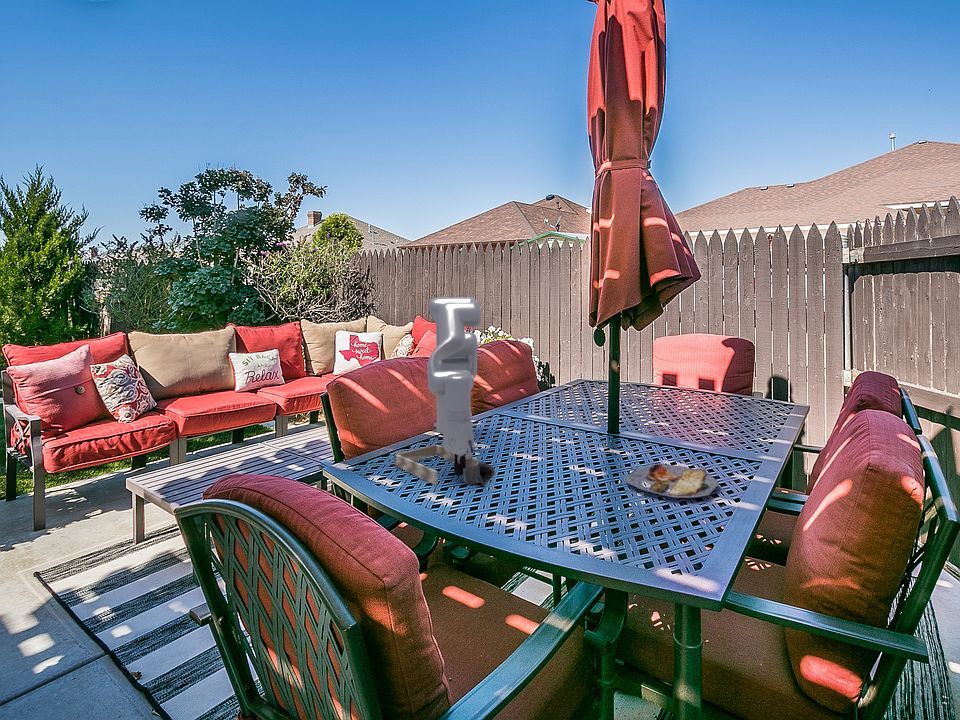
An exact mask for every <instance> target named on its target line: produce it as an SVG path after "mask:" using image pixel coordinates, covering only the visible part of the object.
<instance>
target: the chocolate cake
mask: <svg viewBox="0 0 960 720" xmlns="http://www.w3.org/2000/svg"><path fill="white" fill-rule="evenodd" d="M478 463H479V464H478V465H477V466H471V467H467V468H464V470H463V471H464V473H463V475H462V476H463V481H464V484H465V486H467V485H472V484H481V485H482V486H484V487H486V486H487V484H488V483H489V482H490V480H492V478H494V477H495V476H496V472H495V471H496V470H495V467H494V466H493V465H490V464H488V463H485V462H483V461H480V460H479V461H478Z"/></svg>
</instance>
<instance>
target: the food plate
mask: <svg viewBox="0 0 960 720" xmlns="http://www.w3.org/2000/svg"><path fill="white" fill-rule="evenodd" d="M625 481H626V483H627V484H629V485H631V486H633V487H635V488H637V489H638V490H639V489H640V490H641V491H644V492H647V493H649V492H650V493H652V494H654V495H655V494H656V495H658V496H667V497H671V498H678V499H683V500H684V499H688V498H699V497H706V496H709V495H710V494H711V493H712V492H714V490H715V489H716V488H717V487H718V486H719V485H720V483H719V480H717V479H716V478H715V477H713V476H711V475H710V474H709V473H707V469H703V468H702V469H694V468H690V467H686V466H682V465H673V464H661V463H660V462H659V463H656V464H651V465H644V466H641V467H637V468H635V469H633V470H632V471H631V472H629V473H627V475H626V476H625ZM645 483H646V484H645ZM644 484H645V486H647V487H649V488H646V487H645V486H644ZM665 491H669V492H668V494H667V493H664V492H665Z"/></svg>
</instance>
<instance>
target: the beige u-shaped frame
mask: <svg viewBox="0 0 960 720" xmlns="http://www.w3.org/2000/svg"><path fill="white" fill-rule="evenodd" d="M435 455H437V456H440V457H442V458H444V459H446V460H449V461H451V462H450V463H452V462H453V459H452V455H451V454H450V453H449V452H448V451H446V450H445V449H444V447H443V446H442V445H440V444H433V445H432V444H431V445H428V446H424V447H420V448H416V449H412V450H406V451H403V452H399V453H395V454H394V455H393V458H394V459H393V460H394V467H395V466H397V467H399V468H401V469H400V470H402V469H403V470H402V471H404V470H405V471H404V472H406V471H407V473H408V472H409V473H408V474H410V473H411V475H412V474H413V475H412V476H414V477H416V478H419V479H421V480H423V481H425V482H428V483H430V484H432V485H436V486H437V485H439V484H438V483H439V480H438V479H439V477H438V470H436V469H434V468H431V467H429V466H426V465H424V464H421V463H419V462H415V461H416V460H420V459H423V458H427V457H431V456H435ZM444 459H443V460H444ZM479 459H480V458H477V457H474V456H472V459H468V460H467V462H466V468H467V467H471V466H477V465H478V464H479V463H478V461H480V460H479ZM446 460H445V461H446ZM449 461H448V462H449ZM397 467H396V468H397ZM399 468H398V469H399Z"/></svg>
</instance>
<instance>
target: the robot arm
mask: <svg viewBox="0 0 960 720" xmlns="http://www.w3.org/2000/svg"><path fill="white" fill-rule="evenodd" d="M428 310H429V313H430V315H431V317H432V319H433V321H434V322H435V334H436V336H435V337H436V338H435V340H436V341H435V343H436V346H435V348H434V349H433V350H432V352H431V353H430V355H429V357H428V359H427V360H428V361H427V365H426V366H427V367H426V368H427V369H426V370H427V385H428V386H427V387H428V390H429V392H430V393H431V394H432V395H435V396H436V397H435V398H436V401H435V402H436V422H435V423H433V426H434V427H436V430H437V431H438V433H440V434H443V435H441V436H443V438H442V442H443V443H442V444H443V447H444V449H445V450H446V451H448V452H449V453H450V454H451V455H452V459H453V462H454V463H453V470H454V471H453V474H454V476H457V477H461V476H463V473H464V471H463V470H464V468H466V462H467V460H468V459H472V457H473V453H474V452H475V437H474V434H475V433H474V428H473V427H474V426H473V422H472V403H471V402H472V401H471V399H472V398H471V397H472V396H471V392H472V390H473V389H474V386H475V380H474V379H475V378H476V376H477V374H478V359H479V358H478V357H479V356H478V355H479V351H478V350H479V345H478V343H479V342H478V338H477V336H476V334H475V333H474V332H471V331H465V328H475V327H478V326H480V324H481V321H482V311H481V310H482V309H481V306H480V304H479V302H478V301H477V300H476V298H474V297H472V296H471V297H469V296H468V297H467V296H466V297H465V296H464V297H463V296H462V297H450V296H449V297H448V296H447V297H445V296H444V297H433V298H431V299H430V300H429V303H428Z"/></svg>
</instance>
